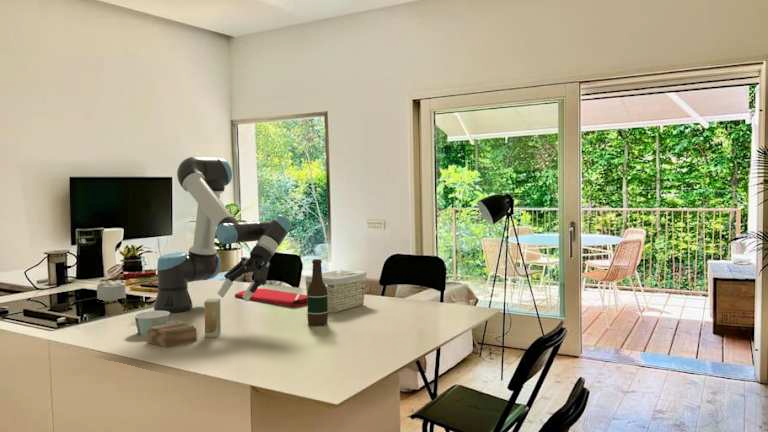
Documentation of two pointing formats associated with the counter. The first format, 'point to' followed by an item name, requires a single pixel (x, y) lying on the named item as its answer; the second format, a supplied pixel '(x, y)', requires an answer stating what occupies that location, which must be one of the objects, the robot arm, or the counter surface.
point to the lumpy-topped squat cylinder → (111, 290)
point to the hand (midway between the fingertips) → (232, 297)
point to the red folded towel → (277, 297)
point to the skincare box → (212, 317)
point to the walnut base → (172, 334)
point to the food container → (150, 320)
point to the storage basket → (343, 288)
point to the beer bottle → (317, 297)
